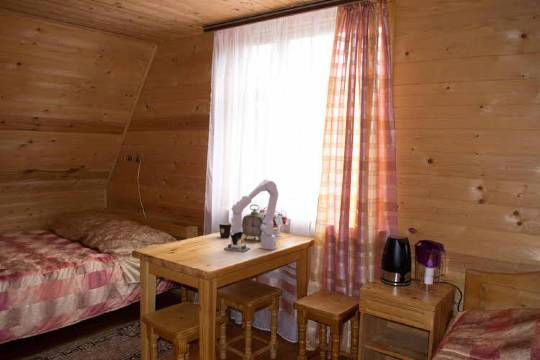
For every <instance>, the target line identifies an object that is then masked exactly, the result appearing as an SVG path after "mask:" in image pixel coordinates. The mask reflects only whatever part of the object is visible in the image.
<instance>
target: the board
mask: <svg viewBox="0 0 540 360" xmlns="http://www.w3.org/2000/svg"><path fill="white" fill-rule="evenodd" d="M223 250H224V251H231V252H238V253H246V252H248V251H250V250H251V247H248V246H247V245H246V244H244V245H241V247H239V248H237V247H231V243H228V245H227V246H226V247H224V248H223Z"/></svg>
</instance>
